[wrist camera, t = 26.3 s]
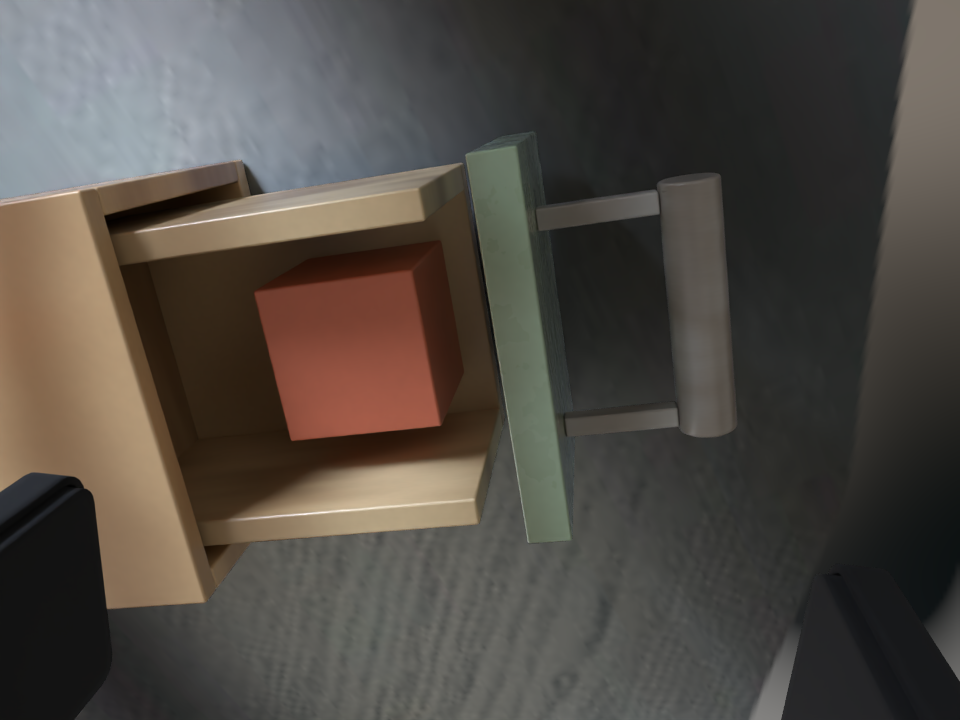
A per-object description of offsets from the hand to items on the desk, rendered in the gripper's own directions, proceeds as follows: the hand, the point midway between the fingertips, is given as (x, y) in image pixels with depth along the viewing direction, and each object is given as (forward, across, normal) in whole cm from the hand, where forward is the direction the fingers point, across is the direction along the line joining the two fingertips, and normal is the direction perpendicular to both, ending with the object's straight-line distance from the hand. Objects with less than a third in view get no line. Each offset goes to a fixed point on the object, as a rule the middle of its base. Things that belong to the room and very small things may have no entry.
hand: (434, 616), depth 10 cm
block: (+16, +5, +1) cm, 17 cm away
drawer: (+18, +4, +1) cm, 18 cm away
